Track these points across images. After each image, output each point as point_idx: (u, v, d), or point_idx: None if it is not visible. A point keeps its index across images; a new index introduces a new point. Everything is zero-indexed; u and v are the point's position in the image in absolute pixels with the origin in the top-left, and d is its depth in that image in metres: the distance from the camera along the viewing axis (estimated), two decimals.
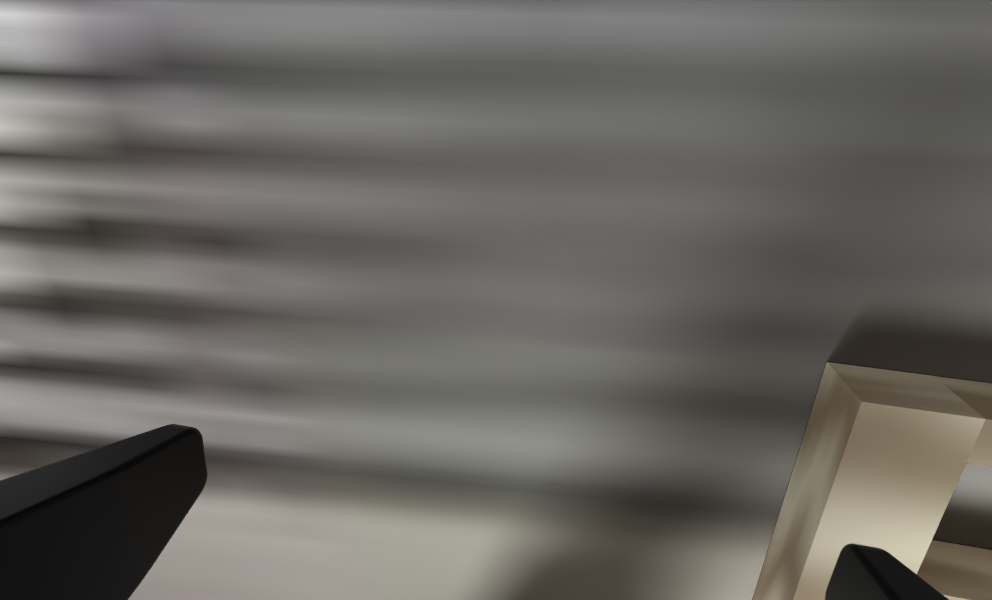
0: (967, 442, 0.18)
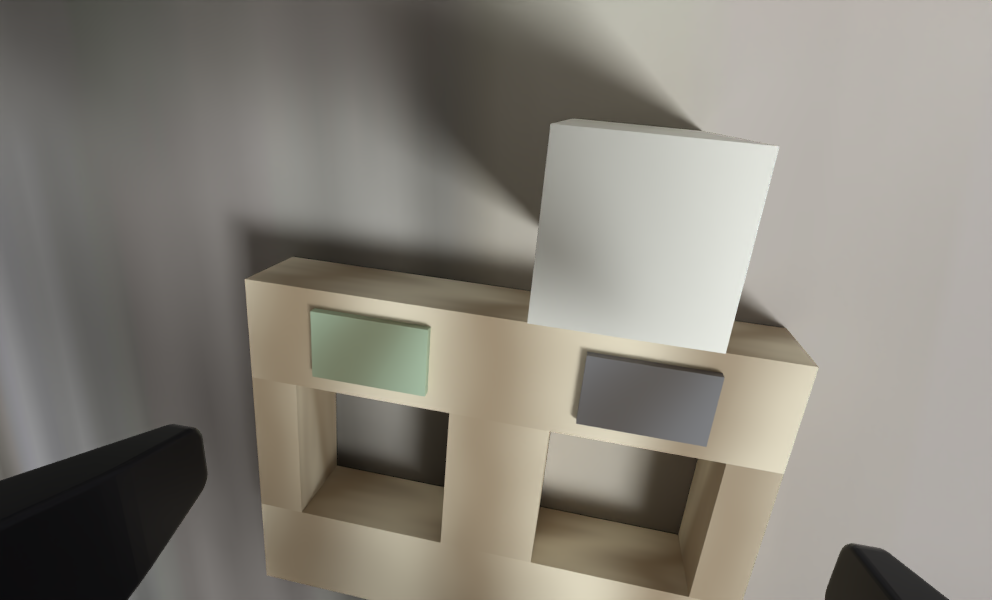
0: (283, 512, 0.21)
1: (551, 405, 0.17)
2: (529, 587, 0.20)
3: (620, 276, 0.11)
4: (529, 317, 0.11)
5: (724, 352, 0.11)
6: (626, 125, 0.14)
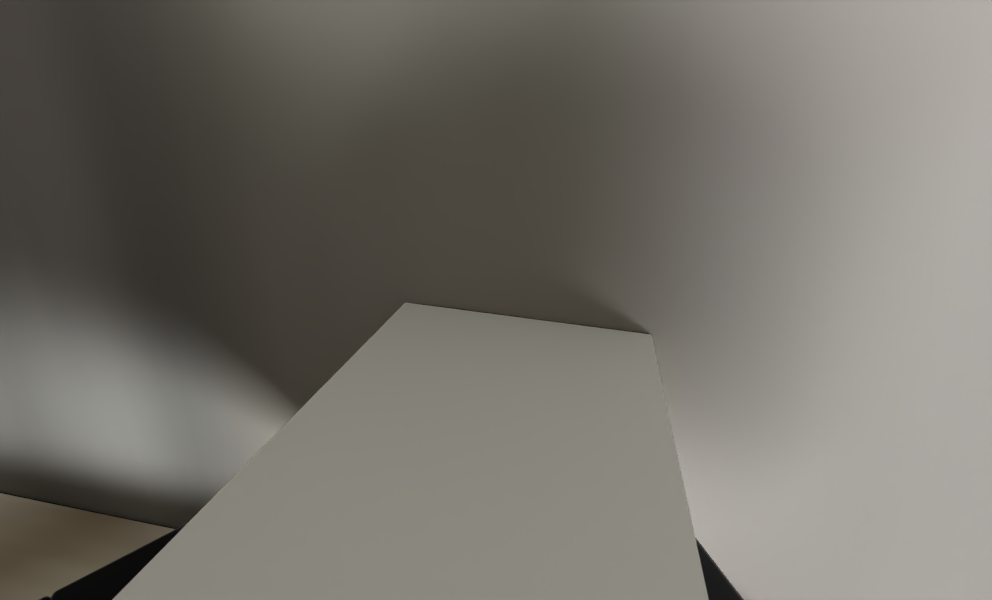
0: None
1: None
2: None
3: None
4: None
5: None
6: (447, 417, 0.06)
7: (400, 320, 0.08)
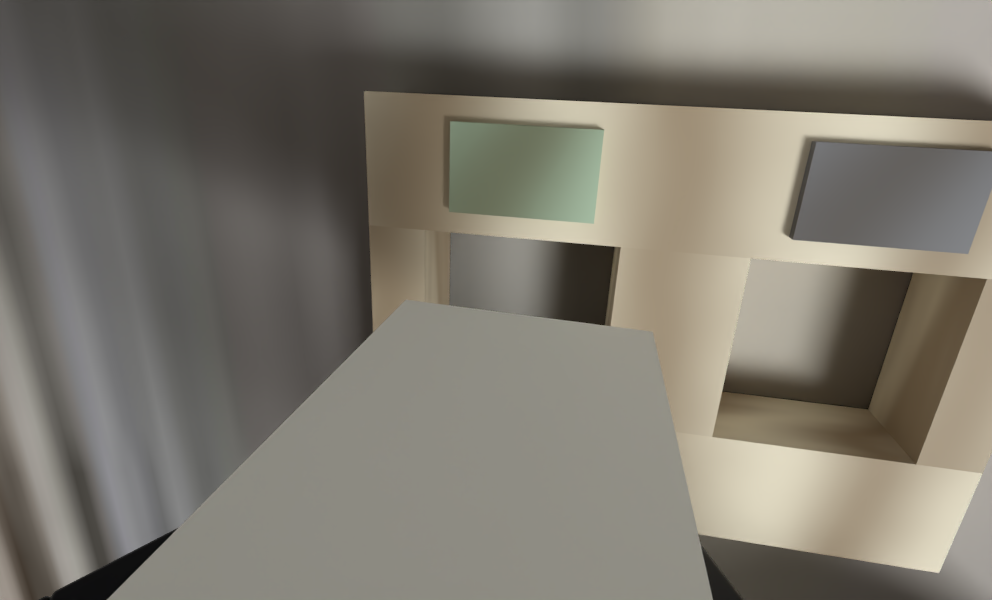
0: None
1: (757, 222, 0.14)
2: (708, 470, 0.17)
3: None
4: None
5: None
6: (448, 413, 0.06)
7: (401, 317, 0.08)
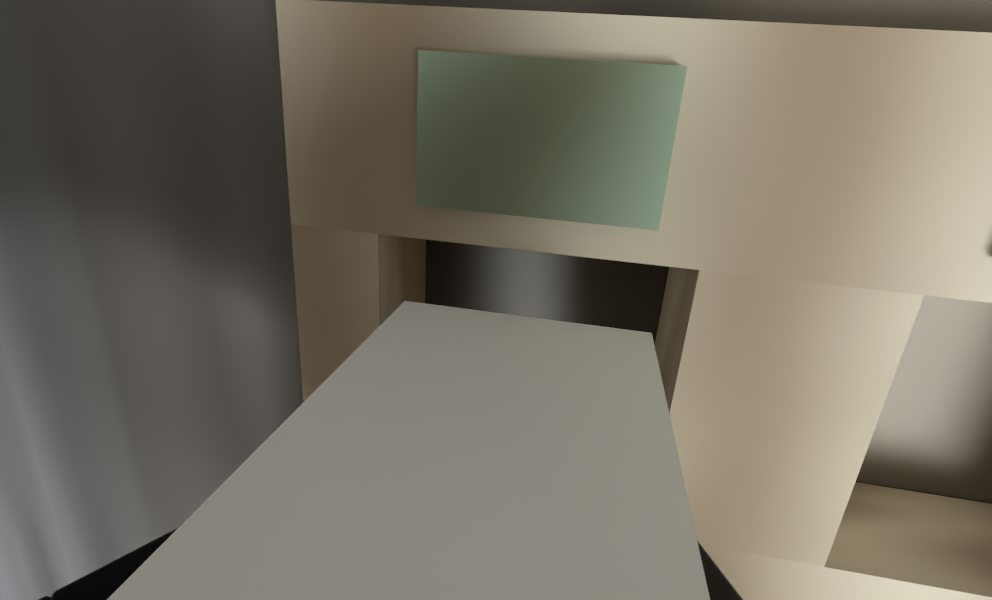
0: None
1: (943, 234, 0.08)
2: None
3: None
4: None
5: None
6: (446, 414, 0.06)
7: (399, 318, 0.08)
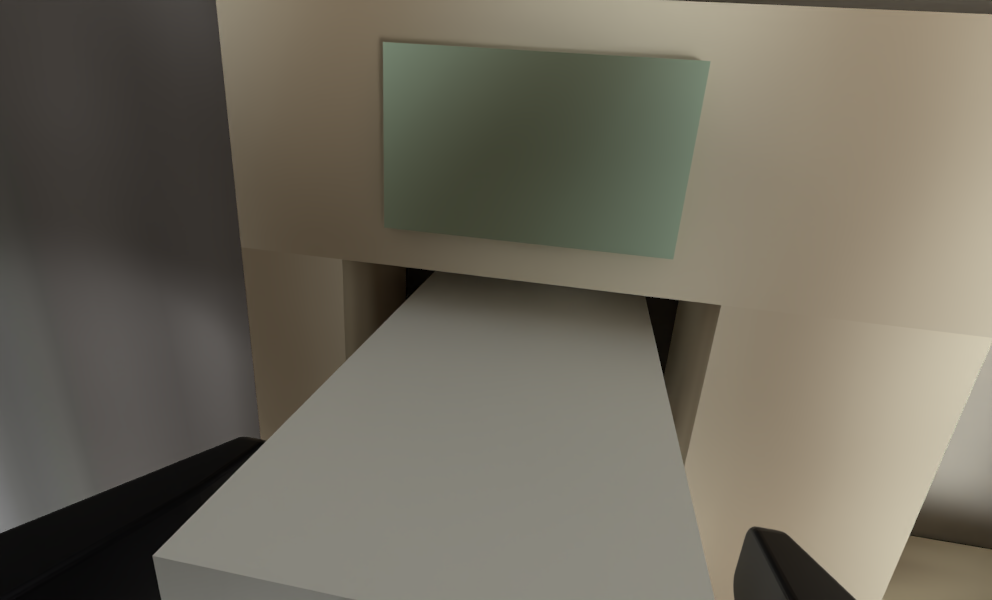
0: None
1: None
2: None
3: None
4: None
5: None
6: (491, 326, 0.08)
7: None
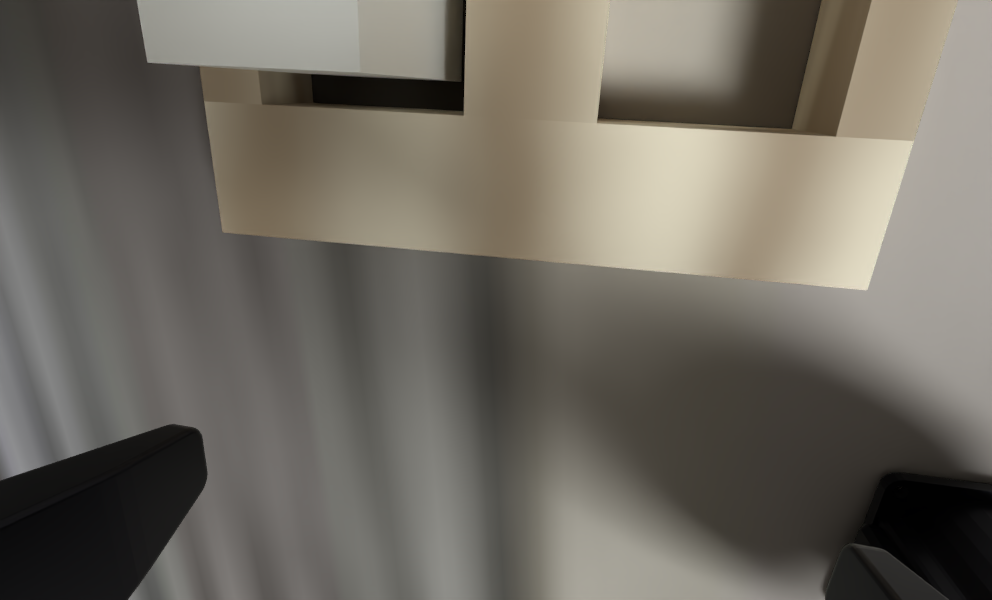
0: (236, 111, 0.15)
1: None
2: (595, 172, 0.14)
3: None
4: (147, 54, 0.10)
5: (359, 71, 0.09)
6: None
7: None
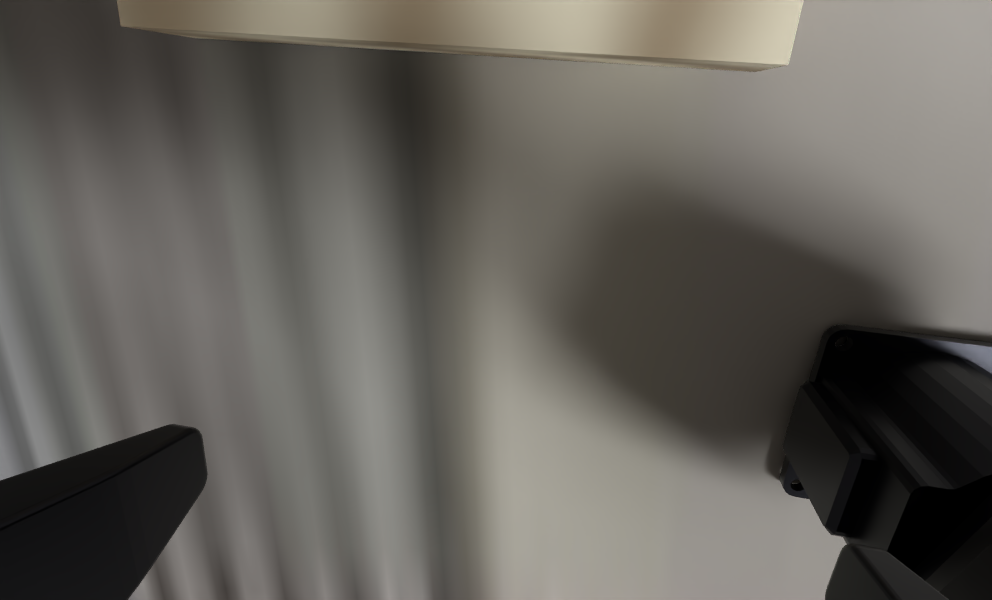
0: None
1: None
2: None
3: None
4: None
5: None
6: None
7: None
